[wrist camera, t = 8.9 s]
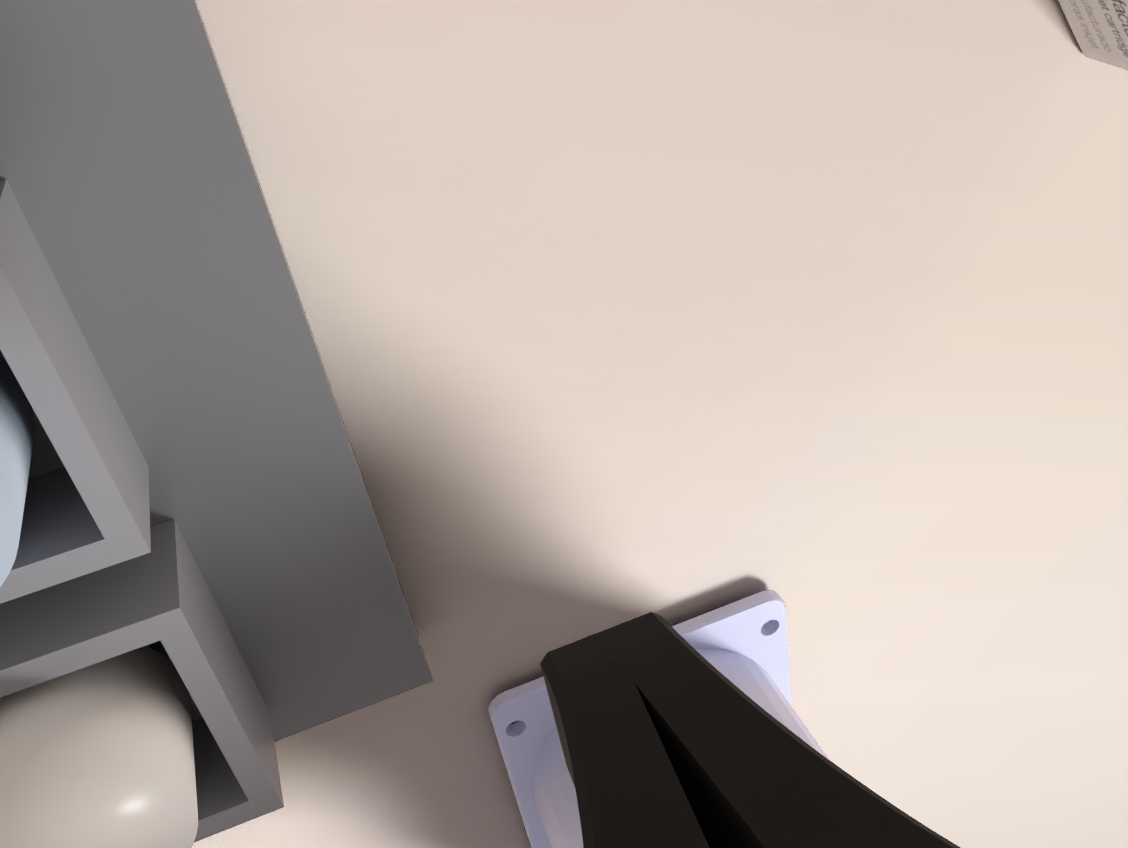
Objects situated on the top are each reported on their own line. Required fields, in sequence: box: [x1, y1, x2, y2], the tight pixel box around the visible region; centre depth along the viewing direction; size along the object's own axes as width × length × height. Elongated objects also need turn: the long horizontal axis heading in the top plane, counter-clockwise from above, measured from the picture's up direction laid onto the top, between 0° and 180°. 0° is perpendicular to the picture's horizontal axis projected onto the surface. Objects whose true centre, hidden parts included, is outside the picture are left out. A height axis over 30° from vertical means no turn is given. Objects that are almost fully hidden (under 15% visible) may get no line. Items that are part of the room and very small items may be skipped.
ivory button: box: [0, 646, 198, 848], centre depth 18 cm, size 4×4×3 cm
